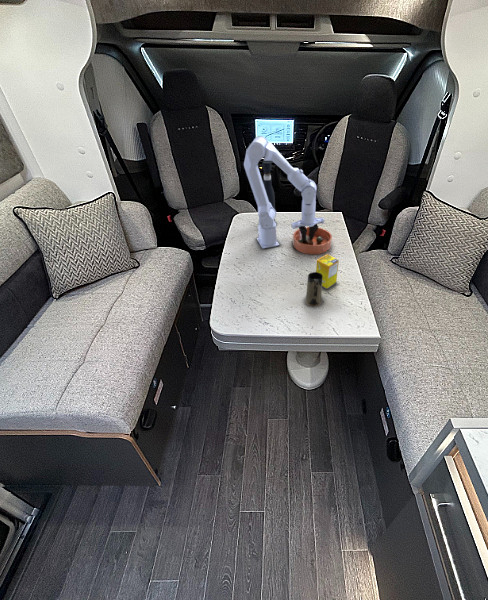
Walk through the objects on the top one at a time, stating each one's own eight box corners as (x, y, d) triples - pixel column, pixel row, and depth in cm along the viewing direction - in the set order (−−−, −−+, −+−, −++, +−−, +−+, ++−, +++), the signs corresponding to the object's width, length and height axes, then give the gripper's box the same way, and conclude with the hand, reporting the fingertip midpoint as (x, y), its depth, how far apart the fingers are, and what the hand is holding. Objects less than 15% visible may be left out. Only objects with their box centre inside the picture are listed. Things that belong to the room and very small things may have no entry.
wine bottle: (270, 228, 166) (268, 165, 147) (259, 224, 168) (256, 162, 149) (277, 223, 170) (276, 161, 151) (267, 220, 173) (265, 158, 154)
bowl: (287, 239, 158) (287, 230, 155) (321, 233, 162) (321, 224, 160) (301, 257, 145) (301, 248, 142) (337, 250, 150) (338, 241, 147)
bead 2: (315, 241, 155) (314, 237, 152) (321, 237, 155) (320, 234, 152) (318, 245, 154) (317, 242, 151) (324, 242, 154) (323, 238, 151)
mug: (305, 296, 125) (307, 268, 117) (320, 296, 125) (322, 269, 117) (306, 310, 119) (308, 282, 111) (322, 310, 119) (324, 282, 111)
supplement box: (324, 277, 134) (326, 253, 127) (336, 284, 131) (339, 259, 124) (314, 283, 131) (316, 259, 124) (326, 290, 128) (328, 266, 121)
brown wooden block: (301, 240, 154) (302, 235, 153) (306, 240, 155) (307, 235, 154) (307, 247, 149) (308, 242, 148) (312, 247, 150) (313, 242, 149)
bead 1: (297, 245, 153) (295, 239, 151) (303, 242, 154) (301, 236, 152) (300, 247, 151) (298, 242, 149) (306, 245, 151) (304, 239, 149)
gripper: (295, 218, 138) (295, 247, 146) (328, 212, 142) (326, 241, 150) (289, 211, 143) (289, 240, 152) (321, 206, 147) (319, 234, 155)
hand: (307, 240), depth 151 cm, fingers closed on brown wooden block, 2 cm apart
